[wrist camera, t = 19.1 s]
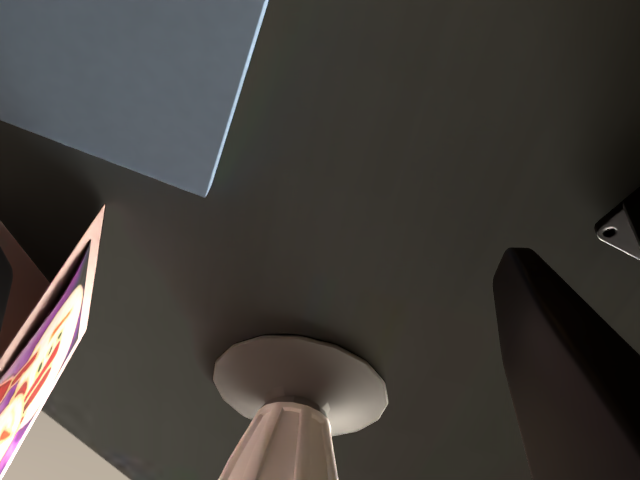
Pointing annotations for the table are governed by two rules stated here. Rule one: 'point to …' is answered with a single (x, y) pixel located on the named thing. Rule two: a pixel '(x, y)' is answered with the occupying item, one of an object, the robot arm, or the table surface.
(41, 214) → the table surface
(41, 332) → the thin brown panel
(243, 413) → the cup
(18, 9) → the mat
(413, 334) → the table surface
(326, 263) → the table surface
